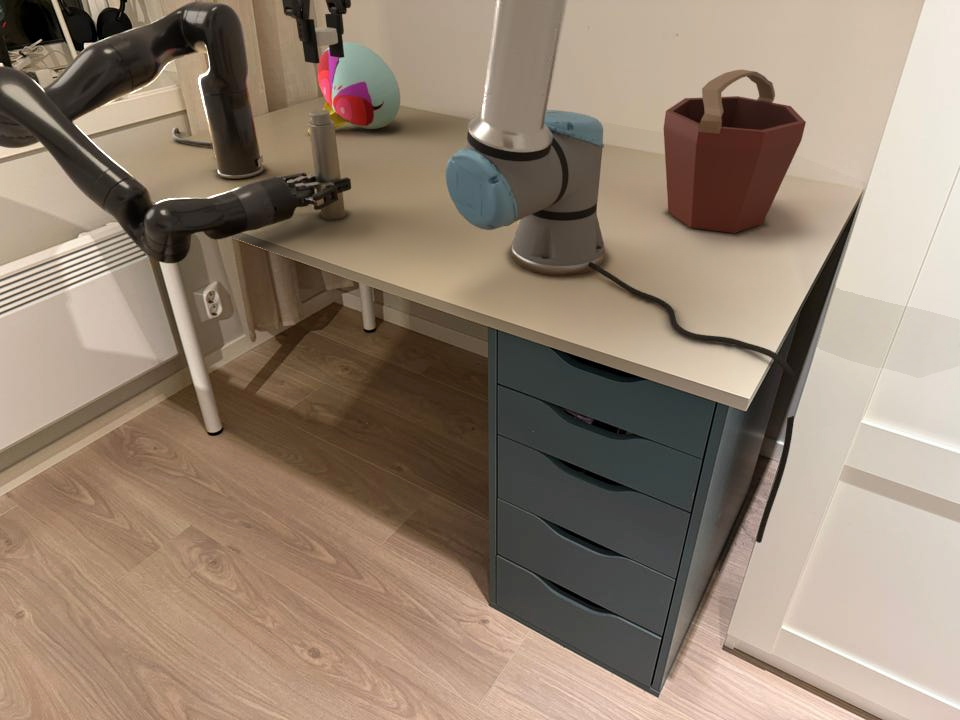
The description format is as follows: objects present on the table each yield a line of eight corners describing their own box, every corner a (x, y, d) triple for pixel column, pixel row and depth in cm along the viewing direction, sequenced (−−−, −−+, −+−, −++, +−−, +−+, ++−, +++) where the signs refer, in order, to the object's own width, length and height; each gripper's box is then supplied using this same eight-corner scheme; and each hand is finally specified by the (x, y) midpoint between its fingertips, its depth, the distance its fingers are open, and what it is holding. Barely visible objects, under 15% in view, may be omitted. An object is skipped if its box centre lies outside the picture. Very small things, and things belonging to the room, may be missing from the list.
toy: (277, 110, 181) (275, 51, 163) (352, 72, 191) (358, 13, 173) (336, 175, 178) (341, 122, 160) (410, 134, 188) (421, 79, 170)
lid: (327, 46, 114) (325, 33, 113) (300, 45, 116) (299, 31, 115) (344, 41, 118) (342, 28, 117) (318, 39, 120) (316, 26, 119)
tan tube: (331, 209, 135) (318, 107, 125) (350, 213, 134) (337, 110, 123) (316, 217, 132) (301, 113, 122) (334, 221, 130) (321, 117, 120)
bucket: (710, 250, 119) (740, 96, 105) (622, 208, 134) (638, 69, 120) (804, 218, 129) (843, 75, 115) (713, 183, 145) (736, 53, 131)
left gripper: (243, 213, 127) (322, 189, 137) (285, 236, 119) (367, 209, 129) (234, 173, 123) (317, 151, 133) (278, 194, 115) (362, 168, 125)
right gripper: (331, -108, 113) (348, 48, 126) (238, -106, 101) (267, 66, 114) (364, -108, 109) (378, 53, 122) (272, -107, 98) (298, 71, 110)
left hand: (341, 179), depth 131 cm, fingers closed on tan tube, 4 cm apart
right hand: (324, 59), depth 118 cm, fingers closed on lid, 5 cm apart
